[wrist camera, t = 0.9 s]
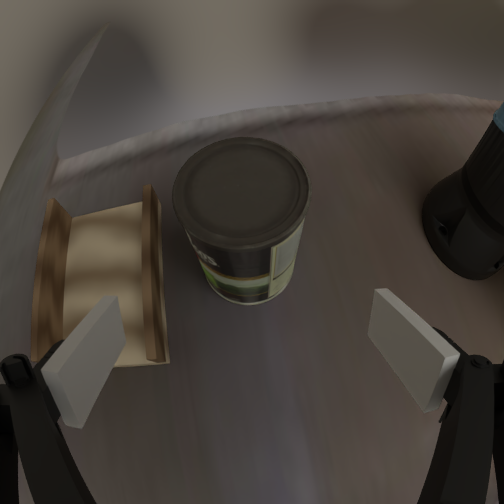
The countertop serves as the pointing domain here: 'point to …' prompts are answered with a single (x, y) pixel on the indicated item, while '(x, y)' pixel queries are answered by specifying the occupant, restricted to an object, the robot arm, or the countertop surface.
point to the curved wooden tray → (102, 277)
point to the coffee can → (244, 215)
